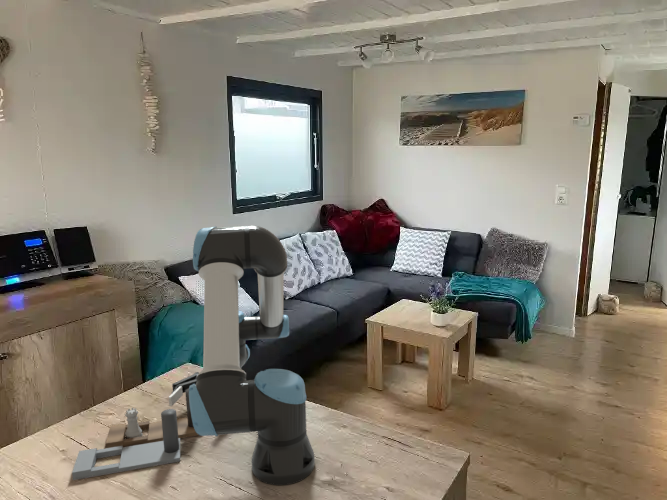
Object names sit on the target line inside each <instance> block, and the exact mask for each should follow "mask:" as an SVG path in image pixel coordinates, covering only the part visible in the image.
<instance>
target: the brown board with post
mask: <svg viewBox="0 0 667 500" xmlns="http://www.w3.org/2000/svg"><path fill="white" fill-rule="evenodd" d="M185 401H186V402H185V403H186V406H185V407H186V416H184V417H179V418H178V417H177V427H178V438H180V439H185V438H191V437H196V436H199V435H198V434H197V433H196V431H195V429H194V426H193V422H192V417H191V411H190V403H189V388H188V389H187V390H186V391H185ZM138 425H139V427H140V429H141V430H142V431H143V430H148V433H147V435H142V436H141V437H135V438H129V439H125V437H126V436H125V433H126V430H127V427H128V423H127V422H126V423H125V422H123V423H118V424H117V423H116V424H111V425H109V428H108V432H107V437H106V441H105V448H111V447H117V446H123V447H128V446H135V445H141V444H147V443H153V442H159V441H163V430H162V420H159V421H152V422H150V420H148V421H141V422H138Z"/></svg>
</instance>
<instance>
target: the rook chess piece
mask: <svg viewBox="0 0 667 500" xmlns="http://www.w3.org/2000/svg"><path fill="white" fill-rule="evenodd" d="M125 411H126V412H125V414H124V416H125V417H126V421H127V424H128V427H127V430H126V433H125V439H129V438H135V437H141V436H144V435H143V430H141V429H140V427H139V425H138V423H139V422H138V418H139V417H138V414H139V412H138V411H139V410H137V408H136V407H135V408H134V407H132V408H128V409H126V410H125Z"/></svg>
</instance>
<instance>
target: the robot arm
mask: <svg viewBox="0 0 667 500" xmlns="http://www.w3.org/2000/svg"><path fill="white" fill-rule="evenodd" d="M192 253H193V254H192V265H193V266H192V267H193V270H195V271H197V272H198V275H199V277H200V278H201V279H202V280H203V281H204V298H203V299H204V301H203V303H204V304H203V305H204V306H203V307H204V308H203V358H202V361H203V363H202V365H203V367H202V369H201V371H200V372H199V371H195V372H194V373H193V374H191V375H188V376H187V377H185V378H181V379H180V380H177V381H176V382H173V383H172V384H171V385H172V391H171V394H170V395H169V396H168V406H169V407H173V406H174V405H175V404H176V403H177V402H178V400H180V399H181V398H182V397H183V395H184V393H185V391H186V390H187V389H188V388H189V403H190V411H191V417H192V422H193V426H194V429H195V431H196V433H197V434H198V436H201V437H207V436H208V437H210V436H215V437H218V436H221V435H230V434H231V435H233V434H243V433H253V432H257V439H256V442H255V443H256V444H255V447H254V450H253V453H252V456H251V471H252V473H253V475H254V477H255V478H256V479H257V480H259V481H260V482H263V483H265V484H269V485H275V486H285V485H291V484H294V483H298V482H300V481H302V480H305V478H307V477H308V476H309V475H311V473H312V472H313V471H314V468H315V465H316V464H315V461H316V460H315V451H314V449H313V447H312V444H311V442H310V440H309V437H308V434H307V411H306V410H307V409H306V407H307V406H306V401H307V393H306V385H305V382H304V379H303V378H302V377H301V376H300V374H298V373H295V372H293V371H291V370H288V369H283V368H268V369H264V370H260V371H259V372H257V373H256V374H255V377H254V379H249V380H247V372H245V370H243V369H242V367H243V366H245V365H246V364H247V362H248V359H249V358H250V355H251V349H250V348H249V346H248V344H246V341H251V340H253V341H254V340H267V339H269V340H270V339H283V338H287V337H289V336H290V318H289V316H288V314H284V281H285V279H284V273H285V272H286V270H287V269H288V256H287V252H286V249H285V247H284V245H283V243H282V242H281V241H280V239H279V238H278V236H276V234H274V233H273V232H271V231H270V230H269V229H266V228H264V227H261V226H260V225H243V226H242V225H239V226H238V225H237V226H218V227H217V226H216V225H215V226H211V227H202V228H200V229H199V230H198V231H197V232H196V234H195V237H194V241H193V247H192ZM245 269H253V270H254V271H255V273H256V274H257V284H258V285H257V286H258V288H257V289H258V291H257V292H258V304H259V305H258V306H259V307H258V308H259V315H258V316H245V313H244V312H243V311H242V310H239V280H240V279H241V278H242V277H244V274H245V273H244V270H245ZM185 394H186V393H185Z"/></svg>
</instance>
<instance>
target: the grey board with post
mask: <svg viewBox="0 0 667 500" xmlns="http://www.w3.org/2000/svg"><path fill="white" fill-rule="evenodd" d="M160 416H161V417H160V418H161V421H162V430H163V441H159V442H153V443H147V444H141V445H135V446H128V447H123V446H117V447H111V448H106V447H105V448H99V449H97V447H96V448H89V449H88V448H87V449H82V450H79V451H78V453H77V456H76V459H75V462H74V465H73V469H72V471H71V476H72V481H76V480H83V479H87V478H88V479H89V478H92V477H93V478H94V477H99V476H105V475H111V474H116V473H123V472H127V471H133V470H138V469H144V468H149V467H150V468H151V467H156V466H161V465H166V464H172V463H177V462H178V463H179V462H181V438H178V427H177V418H178V416H177V410H176V409H174V408H168V409H165V410H163V411H162V412H161V413H160ZM119 455H120V459H119V462H116V463H109V464H104V465H99V466H96V462H97V459H103V458H109V457H115V456H119Z"/></svg>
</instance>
